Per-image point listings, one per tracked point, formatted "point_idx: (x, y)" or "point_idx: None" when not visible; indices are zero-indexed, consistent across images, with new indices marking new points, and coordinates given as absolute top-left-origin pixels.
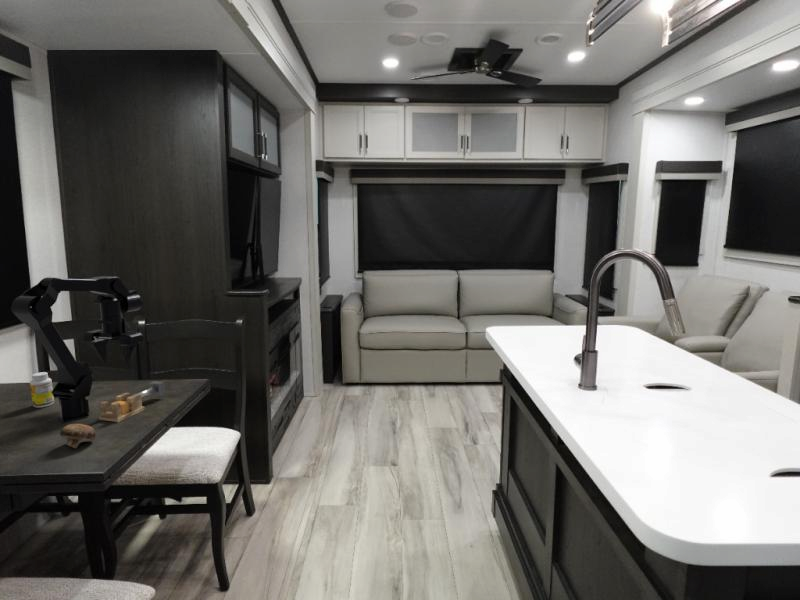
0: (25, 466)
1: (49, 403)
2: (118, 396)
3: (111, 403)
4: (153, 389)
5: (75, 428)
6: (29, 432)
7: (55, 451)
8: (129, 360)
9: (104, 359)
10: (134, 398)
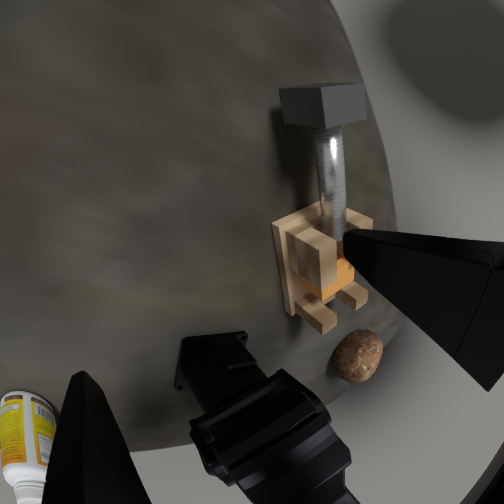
0: (334, 392)
1: (48, 406)
2: (328, 282)
3: (323, 300)
4: (341, 134)
5: (376, 367)
6: None
7: (333, 371)
8: (380, 236)
9: (100, 405)
10: None
